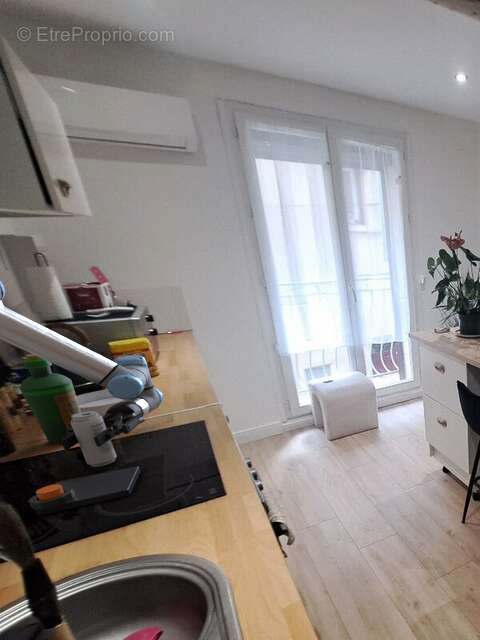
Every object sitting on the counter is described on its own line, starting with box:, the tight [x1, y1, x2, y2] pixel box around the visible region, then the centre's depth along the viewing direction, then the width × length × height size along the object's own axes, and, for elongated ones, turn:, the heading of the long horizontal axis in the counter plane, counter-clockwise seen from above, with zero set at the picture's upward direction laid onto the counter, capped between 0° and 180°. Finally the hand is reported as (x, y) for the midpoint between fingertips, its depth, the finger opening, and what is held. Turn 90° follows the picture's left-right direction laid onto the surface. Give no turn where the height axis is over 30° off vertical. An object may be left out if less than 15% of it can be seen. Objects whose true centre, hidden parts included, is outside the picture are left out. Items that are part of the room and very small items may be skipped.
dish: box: [76, 389, 123, 416], centre depth 154 cm, size 22×22×5 cm
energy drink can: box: [71, 411, 118, 468], centre depth 114 cm, size 6×6×15 cm
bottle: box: [18, 353, 81, 445], centre depth 127 cm, size 11×11×28 cm
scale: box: [28, 465, 142, 516], centre depth 104 cm, size 17×15×4 cm
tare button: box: [35, 483, 64, 500], centre depth 97 cm, size 4×4×2 cm
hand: (80, 443), depth 109 cm, fingers closed on energy drink can, 6 cm apart
